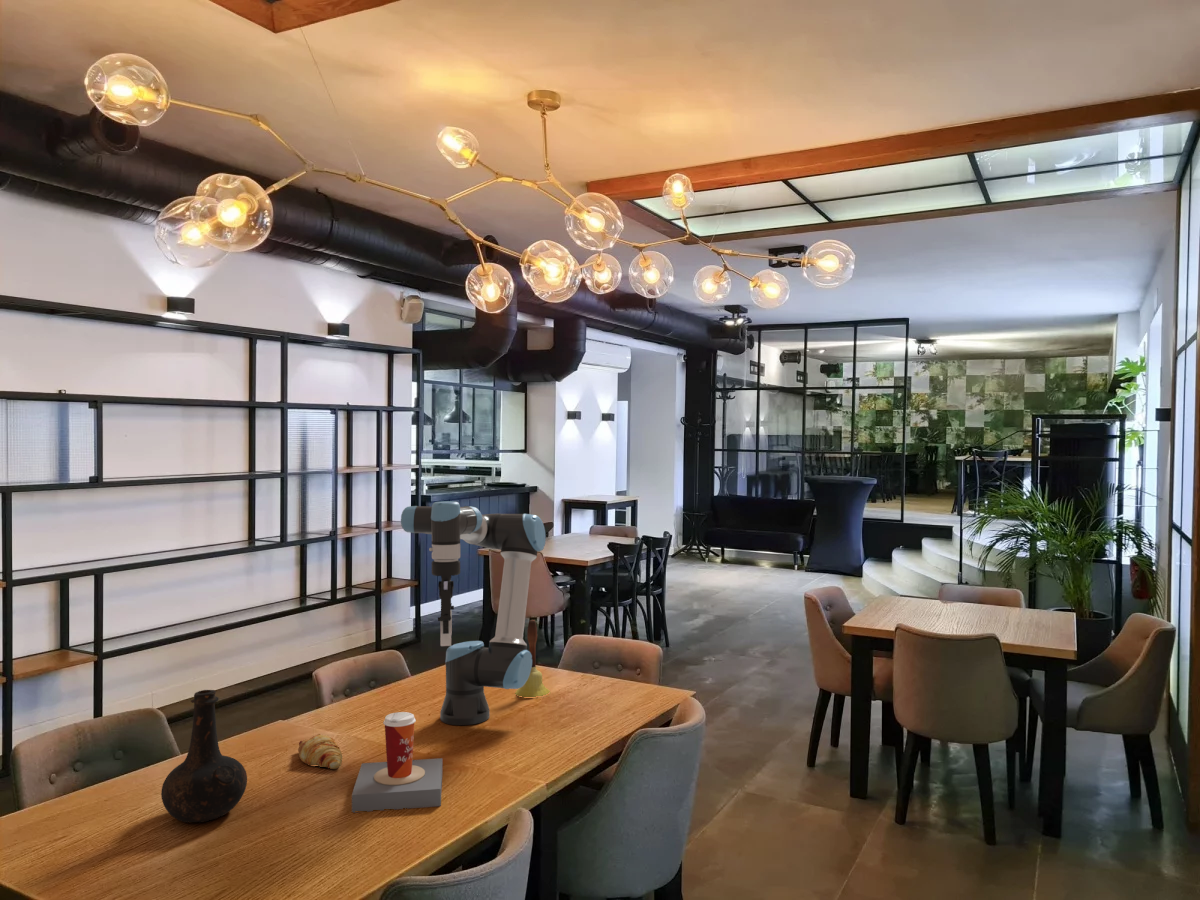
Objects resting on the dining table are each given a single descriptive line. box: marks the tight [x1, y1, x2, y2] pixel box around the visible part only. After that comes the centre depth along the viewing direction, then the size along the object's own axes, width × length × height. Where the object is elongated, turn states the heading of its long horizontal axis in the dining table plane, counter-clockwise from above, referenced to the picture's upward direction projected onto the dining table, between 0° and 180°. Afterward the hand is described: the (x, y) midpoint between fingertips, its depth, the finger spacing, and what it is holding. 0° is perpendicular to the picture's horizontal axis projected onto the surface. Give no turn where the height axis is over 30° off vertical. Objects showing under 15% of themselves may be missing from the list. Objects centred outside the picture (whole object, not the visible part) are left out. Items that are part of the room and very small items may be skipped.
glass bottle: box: [160, 689, 248, 823], centre depth 191 cm, size 18×18×28 cm
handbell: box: [514, 619, 551, 697], centre depth 286 cm, size 12×12×25 cm
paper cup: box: [383, 711, 416, 778], centre depth 203 cm, size 8×8×14 cm
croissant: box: [297, 733, 343, 770], centre depth 224 cm, size 21×10×8 cm, turn 46°
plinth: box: [351, 757, 443, 813], centre depth 203 cm, size 20×20×4 cm
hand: (446, 640), depth 222 cm, fingers open, 13 cm apart
